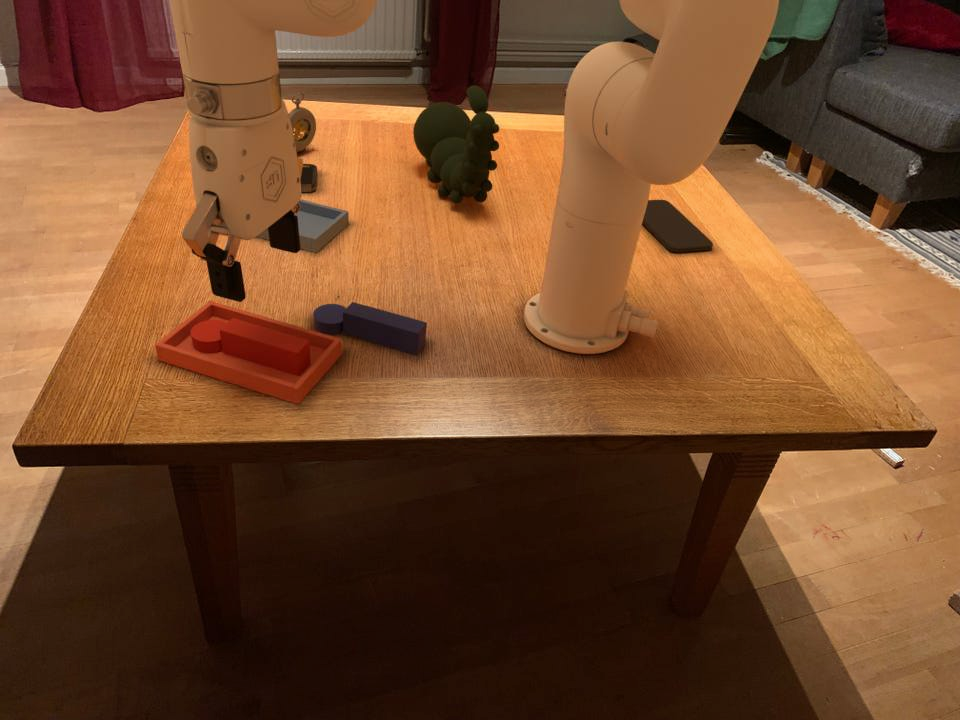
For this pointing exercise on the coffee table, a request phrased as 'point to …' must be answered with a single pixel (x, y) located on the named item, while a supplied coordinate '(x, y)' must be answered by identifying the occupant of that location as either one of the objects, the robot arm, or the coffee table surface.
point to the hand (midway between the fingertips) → (258, 272)
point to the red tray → (244, 372)
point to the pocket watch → (302, 125)
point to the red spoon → (253, 344)
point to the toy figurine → (458, 146)
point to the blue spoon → (372, 326)
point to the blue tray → (316, 225)
